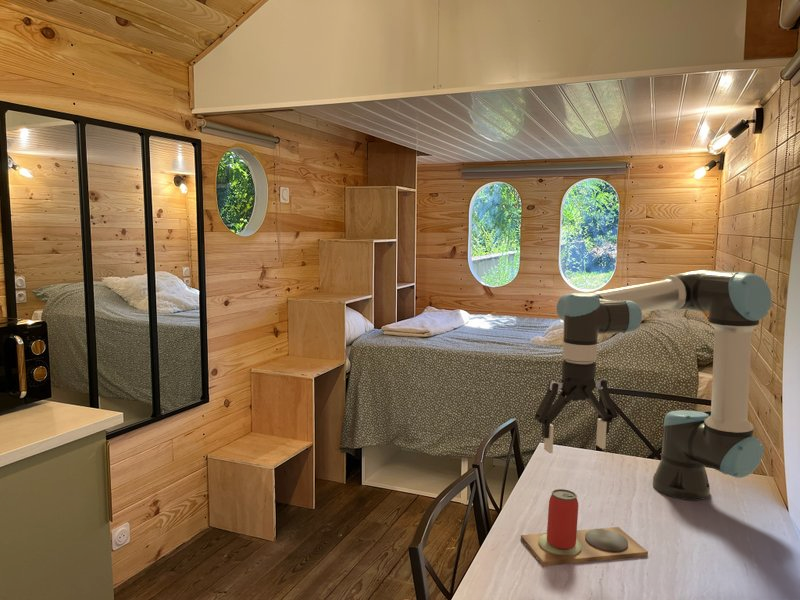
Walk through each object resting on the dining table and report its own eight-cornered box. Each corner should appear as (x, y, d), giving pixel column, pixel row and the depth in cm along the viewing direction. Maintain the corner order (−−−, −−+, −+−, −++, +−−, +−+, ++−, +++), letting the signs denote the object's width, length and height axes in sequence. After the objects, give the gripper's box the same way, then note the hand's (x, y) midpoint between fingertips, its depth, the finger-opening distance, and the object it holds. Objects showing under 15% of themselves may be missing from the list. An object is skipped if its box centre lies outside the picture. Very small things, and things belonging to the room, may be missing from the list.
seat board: (618, 530, 152) (618, 524, 152) (647, 555, 140) (648, 549, 140) (520, 539, 146) (521, 532, 146) (543, 566, 135) (543, 559, 134)
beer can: (576, 552, 138) (580, 501, 136) (546, 548, 139) (550, 498, 138) (574, 538, 144) (577, 489, 143) (546, 534, 145) (549, 486, 144)
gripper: (617, 355, 148) (612, 439, 150) (522, 358, 142) (518, 447, 145) (636, 361, 141) (631, 450, 143) (536, 366, 135) (532, 458, 137)
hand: (574, 449), depth 144 cm, fingers open, 13 cm apart
